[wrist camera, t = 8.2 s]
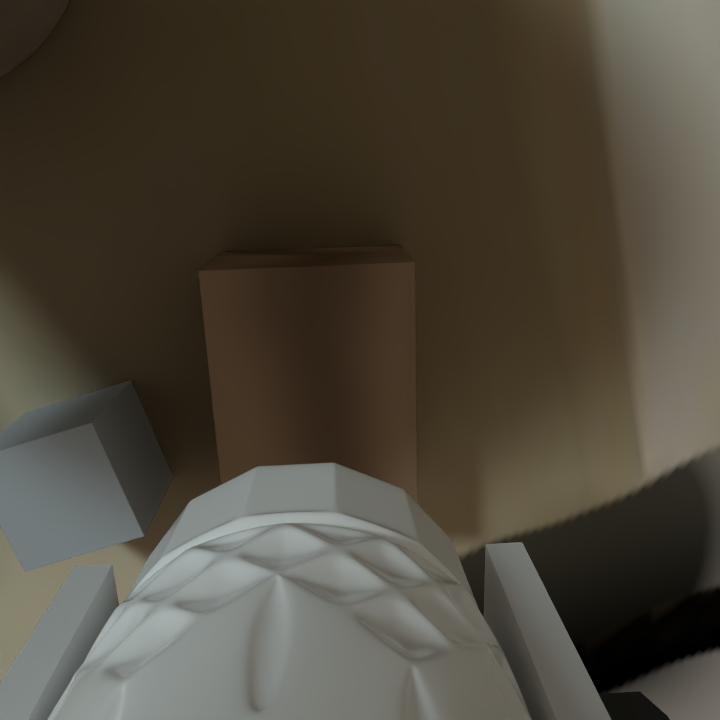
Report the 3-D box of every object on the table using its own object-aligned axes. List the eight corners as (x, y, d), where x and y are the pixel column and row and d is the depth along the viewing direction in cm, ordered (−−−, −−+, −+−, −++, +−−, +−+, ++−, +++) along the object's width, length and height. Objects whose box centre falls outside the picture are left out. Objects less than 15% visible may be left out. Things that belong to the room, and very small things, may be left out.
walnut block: (244, 489, 31) (227, 549, 26) (221, 252, 27) (198, 270, 23) (404, 481, 31) (418, 539, 26) (400, 244, 28) (415, 261, 23)
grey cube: (72, 507, 31) (24, 571, 26) (25, 412, 29) (-35, 461, 24) (173, 477, 30) (143, 536, 26) (131, 379, 29) (91, 422, 24)
